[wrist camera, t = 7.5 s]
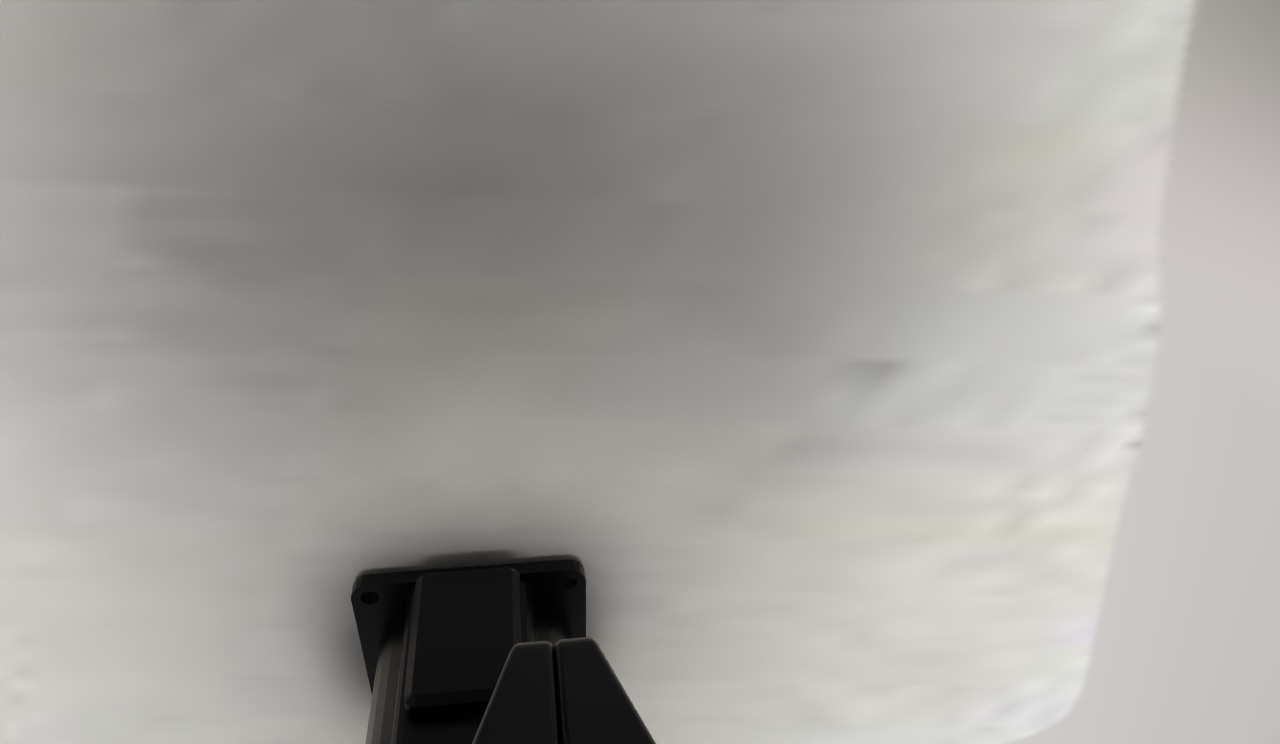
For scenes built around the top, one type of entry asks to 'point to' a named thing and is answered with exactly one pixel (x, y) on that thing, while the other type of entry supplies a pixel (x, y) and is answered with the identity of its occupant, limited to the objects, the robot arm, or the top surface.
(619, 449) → the top surface
